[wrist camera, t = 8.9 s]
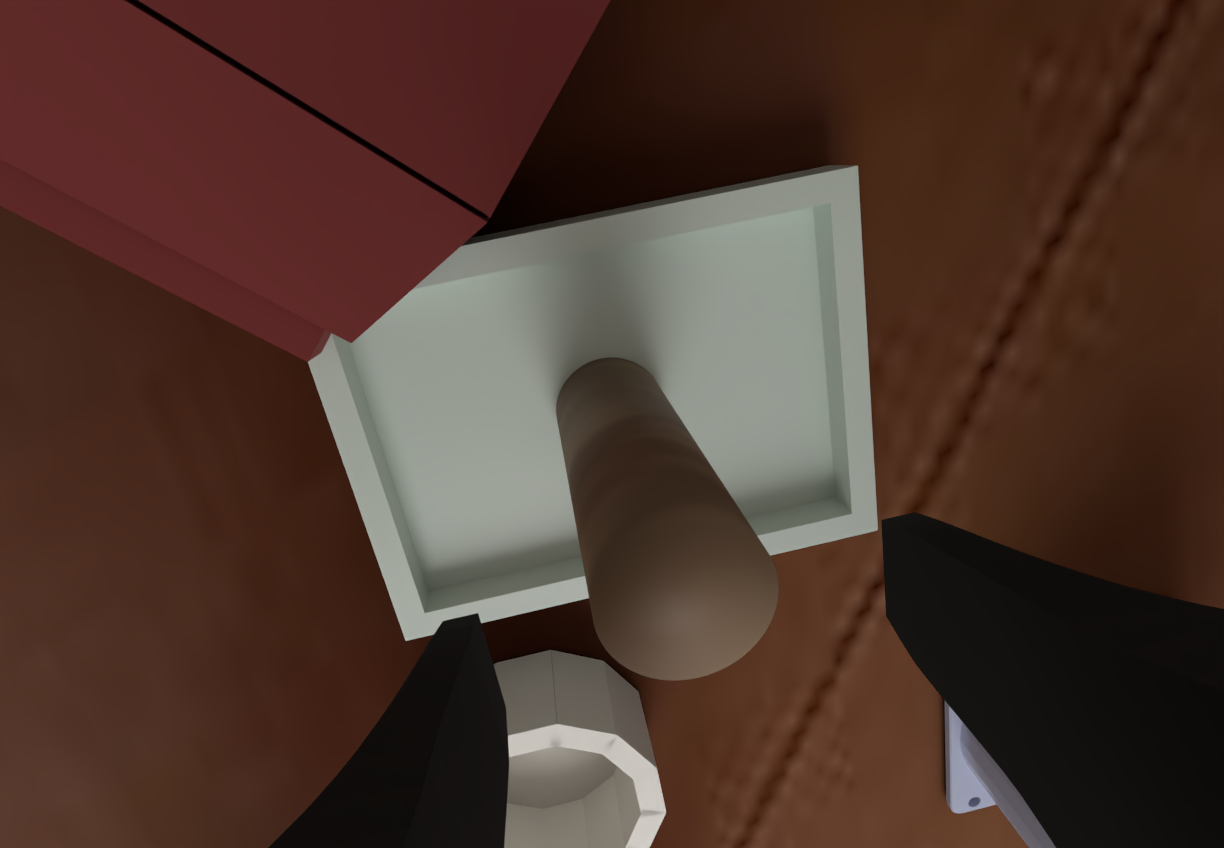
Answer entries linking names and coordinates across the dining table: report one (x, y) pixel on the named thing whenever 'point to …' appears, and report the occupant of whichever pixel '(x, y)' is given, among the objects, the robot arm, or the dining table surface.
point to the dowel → (658, 530)
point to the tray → (601, 328)
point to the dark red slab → (277, 141)
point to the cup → (577, 756)
